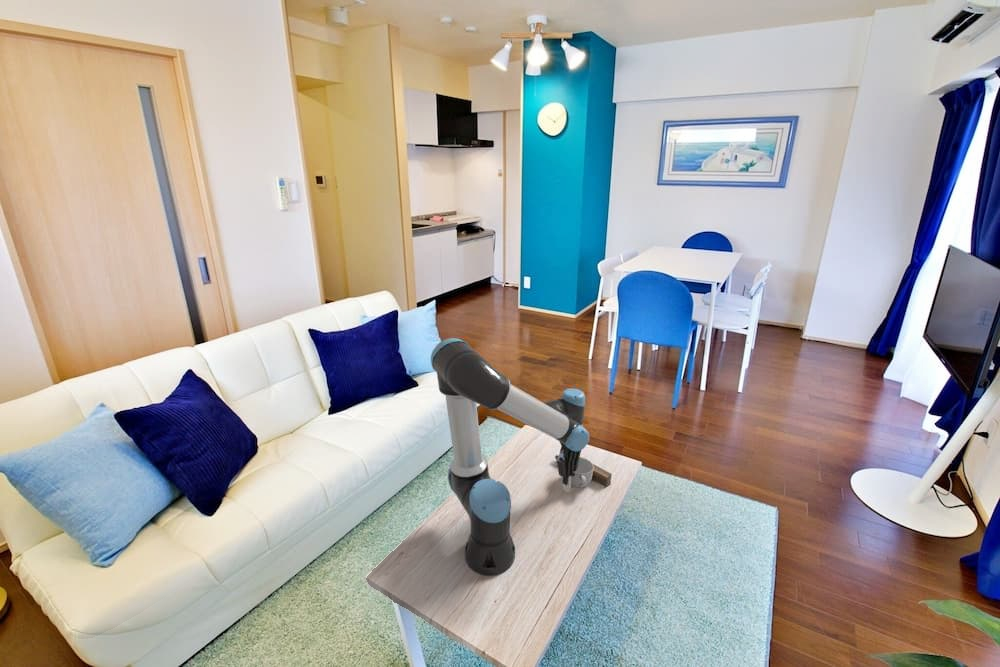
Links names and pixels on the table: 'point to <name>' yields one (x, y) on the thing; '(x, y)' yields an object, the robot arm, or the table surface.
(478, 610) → the table surface
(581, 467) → the teacup
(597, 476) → the board
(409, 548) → the table surface
